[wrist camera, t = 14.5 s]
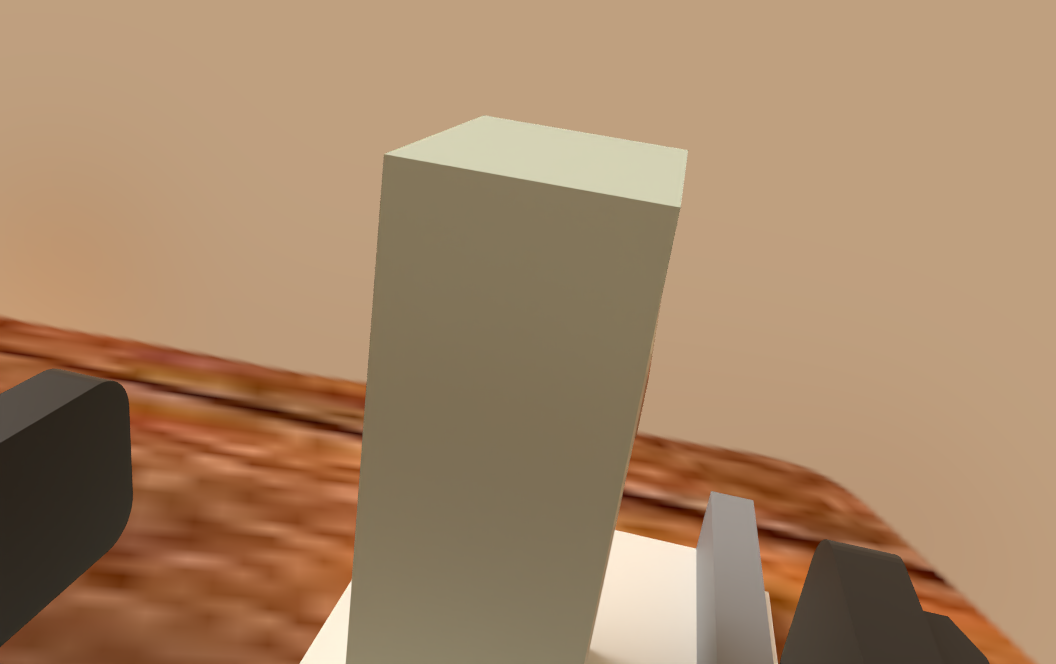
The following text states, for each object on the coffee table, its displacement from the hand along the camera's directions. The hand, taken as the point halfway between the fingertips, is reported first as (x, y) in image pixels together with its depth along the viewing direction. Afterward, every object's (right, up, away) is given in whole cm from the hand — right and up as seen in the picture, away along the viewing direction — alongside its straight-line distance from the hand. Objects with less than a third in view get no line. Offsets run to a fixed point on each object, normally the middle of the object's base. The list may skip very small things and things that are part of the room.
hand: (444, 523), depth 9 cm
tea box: (0, -6, +8) cm, 10 cm away
